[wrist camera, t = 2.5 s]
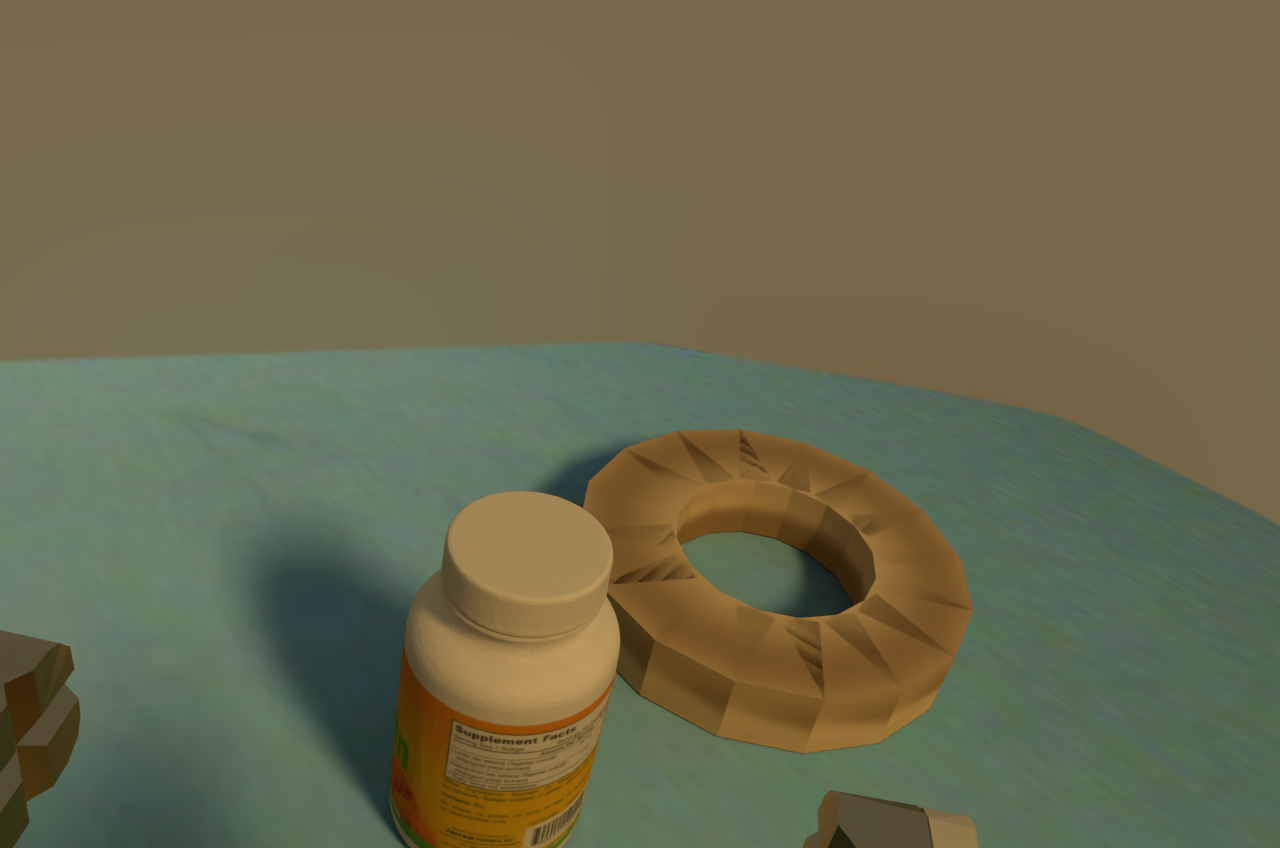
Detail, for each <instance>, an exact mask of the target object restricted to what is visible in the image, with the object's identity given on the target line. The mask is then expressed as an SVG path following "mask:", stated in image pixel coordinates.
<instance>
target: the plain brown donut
mask: <svg viewBox="0 0 1280 848" xmlns="http://www.w3.org/2000/svg"><path fill="white" fill-rule="evenodd" d="M583 509H584V510H586V511H587V512H588V513H590V514H591V515H592V516H593V517H595V518H596V519H597V520H598V522H599V523H600V524H601V525H602V526H603V527H604V529H605V531H606V532H607V534H608V536H609V538H610V540H611V543H612V548H613V563H612V569H611V574H610V578H609V584H608V592H607V595H606V597H607V598H608V600H609V601H610V603H611V605H612V607H613V609H614V612H615V614H616V617H617V621H618V625H619V631H620V650H619V657H618V662H617V668H616V670H617V671H618V672H619V673H620V674H621V676H622V677H623V678H624V679H625V680H626V681H627V682H628V683H629V684H630V685H631V686H632V687H633V688H634V689H635V690H636V691H637V692H638V693H639V695H641V696H643V697H645V698H647V699H648V700H650V701H652V702H654V703H656V704H658V705H660V706H662V707H663V708H665V709H667V710H669V711H671V712H673V713H675V714H676V715H678V716H680V717H682V718H684V719H686V720H688V721H689V722H691V723H693V724H695V725H697V726H699V727H701V728H702V729H704V730H706V731H708V732H710V733H712V734H714V735H716V736H719V737H724V738H729V739H734V740H739V741H744V742H749V743H754V744H758V745H763V746H768V747H773V748H778V749H783V750H788V751H793V752H798V753H809V752H816V751H823V750H831V749H838V748H845V747H853V746H860V745H867V744H874V743H879V742H881V741H882V740H884V739H885V738H887V737H888V736H890V735H891V734H893V733H894V732H896V731H897V730H899V729H900V728H902V727H903V726H905V725H906V724H908V723H909V722H911V721H912V720H914V719H915V718H917V717H918V716H920V715H921V714H923V713H924V712H926V711H927V710H928V709H930V707H931V705H932V703H933V701H934V699H935V697H936V694H937V692H938V690H939V688H940V686H941V684H942V682H943V680H944V678H945V676H946V674H947V672H948V670H949V668H950V666H951V664H952V662H953V660H954V658H955V655H956V653H957V650H958V648H959V645H960V642H961V640H962V637H963V635H964V632H965V630H966V627H967V625H968V622H969V620H970V617H971V614H972V612H973V608H972V604H971V600H970V596H969V592H968V588H967V583H966V579H965V575H964V571H963V567H962V563H961V559H960V558H959V556H958V555H957V554H956V552H955V551H954V550H953V548H952V547H951V546H950V545H949V543H948V542H947V541H946V539H945V538H944V537H943V535H942V534H941V533H940V532H939V530H938V529H937V528H936V526H935V525H934V524H933V522H932V521H931V520H930V518H929V517H928V516H927V515H926V513H925V512H924V511H923V510H922V509H921V508H919V507H918V506H916V505H915V504H914V503H912V502H911V501H910V500H908V499H907V498H906V497H904V496H903V495H902V494H900V493H899V492H897V491H896V490H895V489H893V488H892V487H891V486H889V485H888V484H887V483H885V482H884V481H883V480H881V479H880V478H879V477H877V476H876V475H874V474H873V473H872V472H870V471H868V470H866V469H864V468H862V467H859V466H857V465H855V464H853V463H850V462H848V461H846V460H843V459H841V458H839V457H837V456H834V455H832V454H830V453H827V452H825V451H823V450H821V449H818V448H816V447H814V446H812V445H809V444H807V443H803V442H798V441H793V440H789V439H784V438H779V437H774V436H769V435H765V434H760V433H755V432H750V431H746V430H741V429H733V430H686V431H675V432H672V433H669V434H666V435H663V436H660V437H657V438H653V439H650V440H647V441H644V442H641V443H638V444H635V445H632V446H629V447H626V448H624V449H623V450H622V451H621V452H620V453H618V454H617V455H616V456H615V457H614V458H613V459H612V460H611V461H610V462H609V463H608V464H607V465H606V466H605V467H604V468H603V469H602V470H600V471H599V472H598V473H597V474H596V475H595V476H594V477H593V478H592V479H591V480H590V481H589V482H588V487H587V491H586V496H585V501H584V506H583ZM734 531H743V532H748V533H752V534H757V535H762V536H767V537H772V538H776V539H778V540H781V541H783V542H785V543H787V544H789V545H791V546H793V547H795V548H798V549H800V550H802V551H804V552H806V553H808V554H810V555H811V556H812V557H813V558H815V559H816V560H817V561H818V562H820V563H821V564H822V565H823V566H824V567H826V568H827V569H828V570H829V571H830V572H832V573H833V574H834V575H835V576H836V577H837V579H838V580H839V582H840V583H841V585H842V587H843V588H844V590H845V591H846V593H847V594H848V596H849V598H850V599H851V601H852V603H853V607H851V608H849V609H847V610H845V611H843V612H842V613H840V614H838V615H829V616H818V617H807V618H796V617H791V616H786V615H781V614H776V613H772V612H767V611H762V610H757V609H755V608H753V607H751V606H749V605H747V604H745V603H743V602H741V601H739V600H737V599H735V598H733V597H731V596H729V595H726V594H724V593H722V592H720V591H718V590H717V589H716V588H715V587H714V586H713V585H712V584H711V583H709V582H708V581H707V580H706V579H705V578H704V577H703V576H702V575H701V574H700V573H699V572H697V571H696V570H695V569H694V568H693V567H692V566H691V565H690V564H689V562H688V560H687V558H686V556H685V554H684V552H683V550H682V547H681V544H683V543H685V542H687V541H690V540H692V539H695V538H697V537H699V536H702V535H704V534H707V533H717V532H734Z"/></svg>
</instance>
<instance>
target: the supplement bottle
mask: <svg viewBox="0 0 1280 848" xmlns="http://www.w3.org/2000/svg"><path fill="white" fill-rule="evenodd" d="M612 563H613V548H612V543H611V540H610V538H609V536H608V534H607V532H606V531H605V529H604V527H603V526H602V525H601V524H600V523H599V522H598V520H597V519H596V518H595V517H593V516H592V515H591V514H590V513H588V512H587V511H586V510H584V509H583V508H581V507H579V506H578V505H576V504H574V503H572V502H569V501H567V500H565V499H563V498H560V497H557V496H553V495H549V494H545V493H539V492H533V491H506V492H500V493H495V494H491V495H487V496H485V497H482V498H479V499H477V500H475V501H473V502H472V503H470V504H468V505H467V506H465V507H464V508H463V509H462V510H460V511H459V512H458V514H457V515H456V516H455V517H454V519H453V520H452V522H451V524H450V526H449V528H448V531H447V535H446V539H445V546H444V553H443V561H442V568H441V569H440V570H438V571H437V572H436V573H435V574H433V575H432V576H431V577H430V578H429V579H428V580H427V581H426V582H425V583H424V585H423V586H422V587H421V588H420V590H419V591H418V593H417V595H416V596H415V598H414V600H413V602H412V605H411V607H410V610H409V614H408V617H407V623H406V628H405V633H404V644H403V654H402V664H401V674H400V683H399V692H398V701H397V712H396V723H395V733H394V744H393V755H392V764H391V774H390V790H389V801H390V808H391V813H392V816H393V819H394V822H395V825H396V827H397V829H398V831H399V833H400V835H401V836H402V838H403V839H404V841H405V842H406V844H407V845H408V846H409V847H410V848H562V846H563V845H564V844H565V843H566V841H567V840H568V839H569V837H570V835H571V833H572V831H573V829H574V827H575V825H576V822H577V819H578V816H579V813H580V811H581V807H582V804H583V800H584V796H585V793H586V789H587V785H588V781H589V777H590V773H591V768H592V764H593V760H594V756H595V752H596V748H597V744H598V740H599V736H600V732H601V728H602V724H603V720H604V717H605V713H606V709H607V705H608V701H609V697H610V693H611V689H612V685H613V682H614V678H615V673H616V668H617V662H618V657H619V650H620V631H619V625H618V621H617V617H616V614H615V612H614V609H613V607H612V605H611V603H610V601H609V600H608V598H607V597H606V595H607V592H608V584H609V578H610V574H611V569H612Z"/></svg>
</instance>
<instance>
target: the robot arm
mask: <svg viewBox="0 0 1280 848" xmlns="http://www.w3.org/2000/svg"><path fill="white" fill-rule="evenodd" d="M73 670H74V664H73V659H72V654H71V649H70V646H67V645H63V644H60V643H56V642H51V641H46V640H42V639H37V638H33V637H28V636H24V635H19V634H15V633H10V632H6V631H1V630H0V848H13V847H14V845H15V844H16V842H17V841H18V839H19V838H20V836H21V834H22V833H23V831H24V830H25V828H26V827H27V825H28V824H29V817H28V811H27V804H26V802H27V801H28V800H30V799H32V798H34V797H35V796H37V795H39V794H41V793H42V792H44V791H46V790H48V789H50V788H51V787H53V786H54V784H55V783H56V781H57V779H58V778H59V776H60V775H61V773H62V771H63V770H64V768H65V767H66V765H67V763H68V761H69V758H70V756H71V753H72V750H73V748H74V745H75V742H76V740H77V737H78V732H79V723H80V707H79V699H78V697H77V696H76V695H75V694H74V693H73V692H72V691H71V690H70V689H69V688H68V687H67V686H66V685H65V684H64V683H65V682H66V680H67V679H68V677H69V676H70V674H71V673H72V672H73ZM803 848H979V846H978V841H977V837H976V832H975V827H974V824H973V823H972V821H971V820H970V818H969V817H968V816H964V815H959V814H954V813H948V812H943V811H938V810H933V809H928V808H919V807H918V806H916V805H911V804H905V803H899V802H894V801H888V800H883V799H877V798H871V797H866V796H860V795H855V794H849V793H843V792H838V791H832V790H830V791H829V792H828V793H827V794H826V795H825V796H824V798H823V800H822V803H821V805H820V807H819V809H818V832H816V833H815V834H813V835H811V836H809V837H807V838H806V841H805V843H804V846H803Z"/></svg>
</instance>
